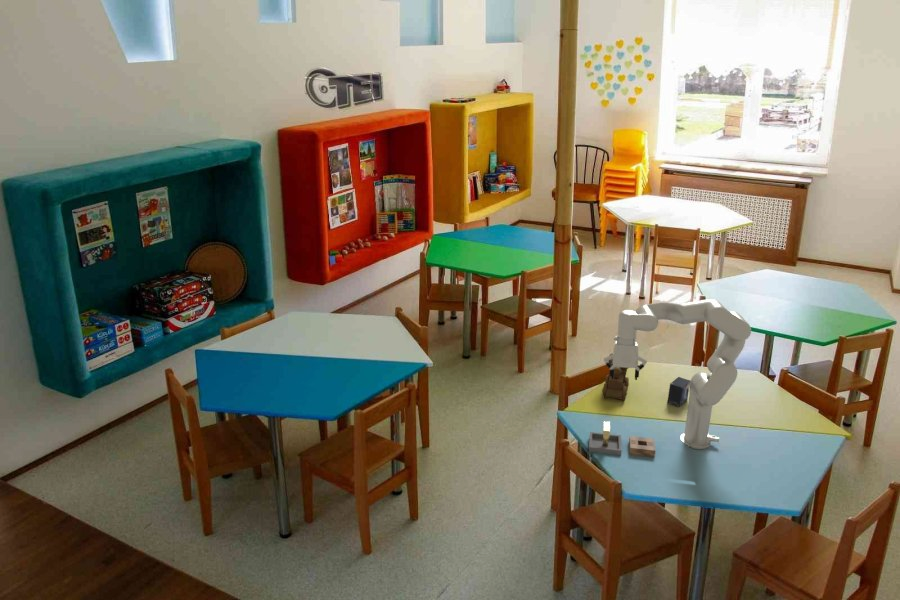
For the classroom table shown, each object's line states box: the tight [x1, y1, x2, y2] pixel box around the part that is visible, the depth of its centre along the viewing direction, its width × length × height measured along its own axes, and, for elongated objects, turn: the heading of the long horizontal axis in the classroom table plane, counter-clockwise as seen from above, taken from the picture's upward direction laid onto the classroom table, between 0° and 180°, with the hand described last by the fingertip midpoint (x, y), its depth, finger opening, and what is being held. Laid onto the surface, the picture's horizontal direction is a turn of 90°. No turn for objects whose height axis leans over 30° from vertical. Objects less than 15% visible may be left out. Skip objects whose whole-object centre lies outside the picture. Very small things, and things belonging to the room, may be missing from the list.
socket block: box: [628, 435, 656, 458], centre depth 323 cm, size 10×10×4 cm
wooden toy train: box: [602, 353, 630, 402], centre depth 373 cm, size 20×11×17 cm, turn 163°
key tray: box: [588, 431, 623, 456], centre depth 326 cm, size 13×13×3 cm
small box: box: [666, 376, 691, 408], centre depth 367 cm, size 11×6×10 cm, turn 143°
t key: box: [602, 421, 611, 447], centre depth 325 cm, size 8×2×9 cm, turn 169°
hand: (623, 378), depth 323 cm, fingers open, 9 cm apart
